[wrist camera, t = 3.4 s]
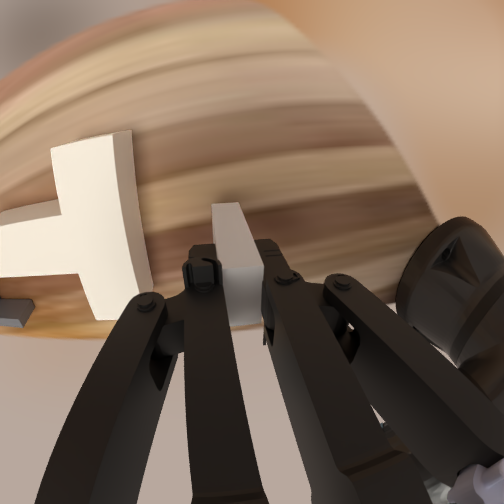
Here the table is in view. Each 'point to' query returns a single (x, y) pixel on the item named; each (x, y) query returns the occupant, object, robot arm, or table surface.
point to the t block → (84, 225)
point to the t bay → (15, 312)
